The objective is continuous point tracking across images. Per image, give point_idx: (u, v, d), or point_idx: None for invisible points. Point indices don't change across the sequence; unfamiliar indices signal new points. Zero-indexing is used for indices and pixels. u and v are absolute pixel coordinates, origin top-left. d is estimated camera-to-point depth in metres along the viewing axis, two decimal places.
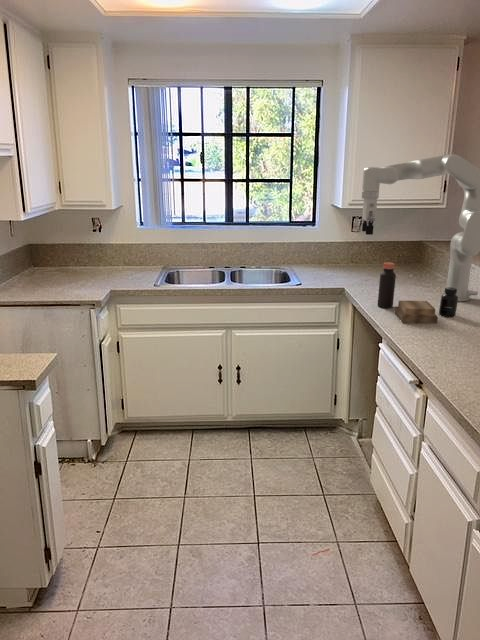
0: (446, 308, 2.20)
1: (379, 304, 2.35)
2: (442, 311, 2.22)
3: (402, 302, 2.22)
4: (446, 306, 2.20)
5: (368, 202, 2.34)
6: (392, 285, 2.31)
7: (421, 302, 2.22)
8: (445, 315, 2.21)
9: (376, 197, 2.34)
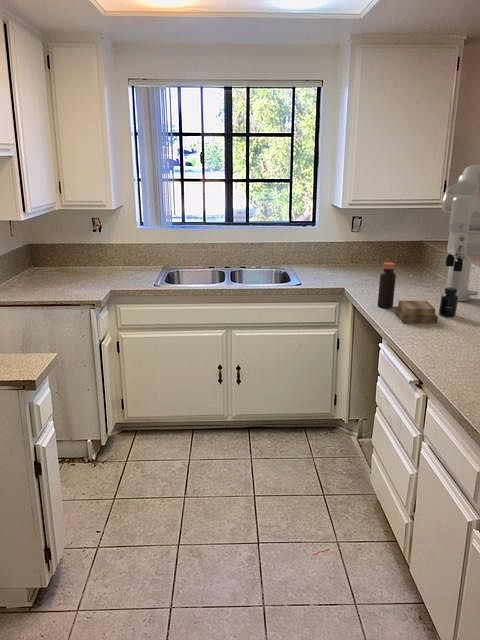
0: (446, 308, 2.20)
1: (379, 304, 2.35)
2: (442, 311, 2.22)
3: (402, 302, 2.22)
4: (446, 306, 2.20)
5: (458, 235, 2.09)
6: (392, 285, 2.31)
7: (421, 302, 2.22)
8: (445, 315, 2.21)
9: (467, 230, 2.10)
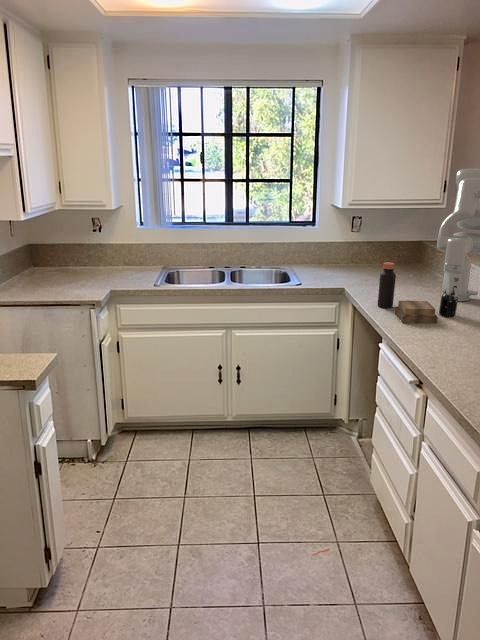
0: (446, 308, 2.20)
1: (379, 304, 2.35)
2: (442, 311, 2.22)
3: (402, 302, 2.22)
4: (446, 306, 2.20)
5: (452, 276, 2.15)
6: (392, 285, 2.31)
7: (421, 302, 2.22)
8: (445, 315, 2.21)
9: (461, 271, 2.15)
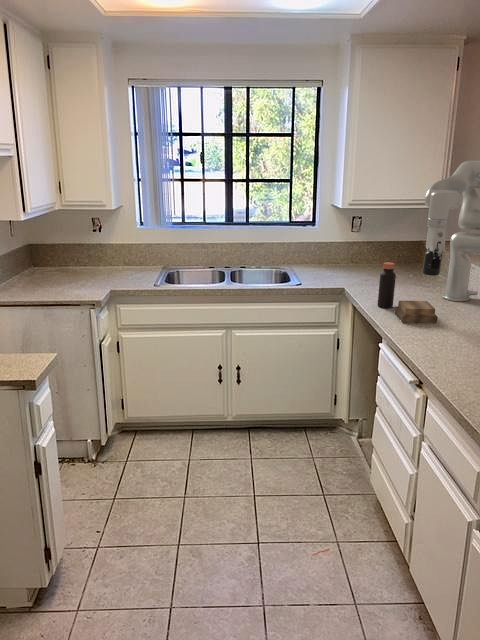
0: (430, 265, 2.11)
1: (379, 304, 2.35)
2: (425, 269, 2.13)
3: (402, 302, 2.22)
4: (430, 263, 2.11)
5: (436, 231, 2.06)
6: (392, 285, 2.31)
7: (421, 302, 2.22)
8: (429, 273, 2.13)
9: (445, 225, 2.07)
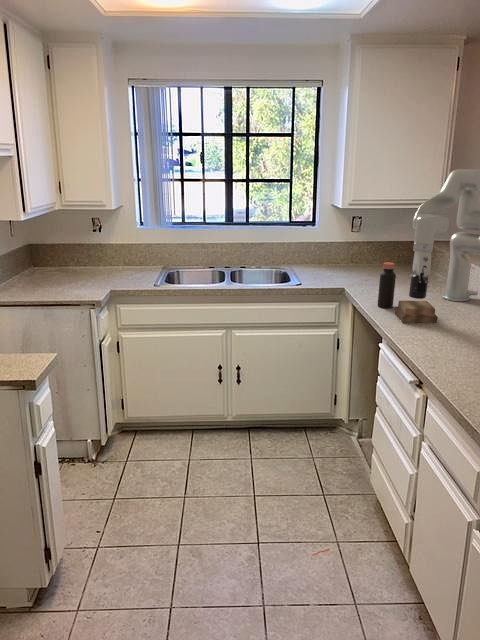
0: (416, 289, 2.13)
1: (379, 304, 2.35)
2: (412, 292, 2.15)
3: (402, 302, 2.22)
4: (416, 287, 2.13)
5: (422, 256, 2.08)
6: (392, 285, 2.31)
7: (421, 302, 2.22)
8: (415, 296, 2.14)
9: (430, 250, 2.08)
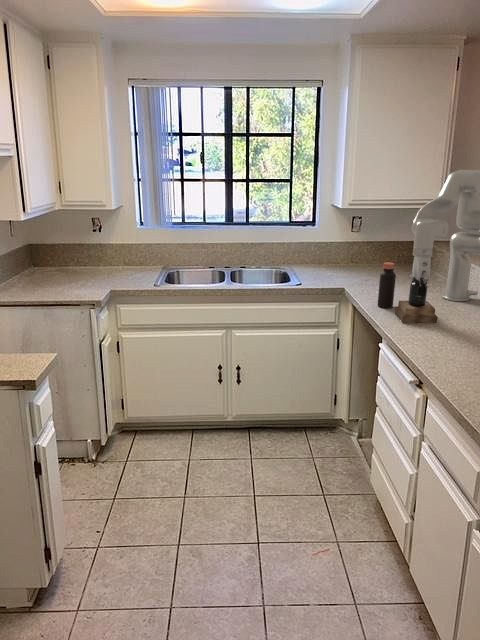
0: (415, 296, 2.15)
1: (379, 304, 2.35)
2: (411, 300, 2.16)
3: (402, 302, 2.22)
4: (415, 295, 2.14)
5: (421, 260, 2.08)
6: (392, 285, 2.31)
7: None
8: (414, 304, 2.16)
9: (430, 255, 2.09)
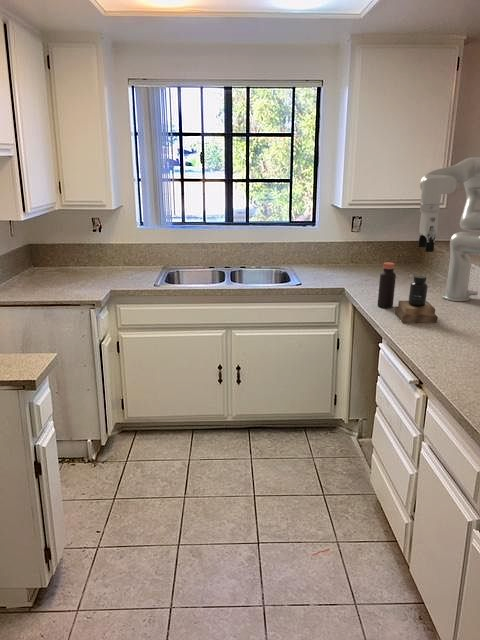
0: (415, 296, 2.15)
1: (379, 304, 2.35)
2: (411, 300, 2.16)
3: (402, 302, 2.22)
4: (415, 295, 2.14)
5: (429, 216, 2.09)
6: (392, 285, 2.31)
7: None
8: (414, 304, 2.16)
9: (437, 210, 2.10)
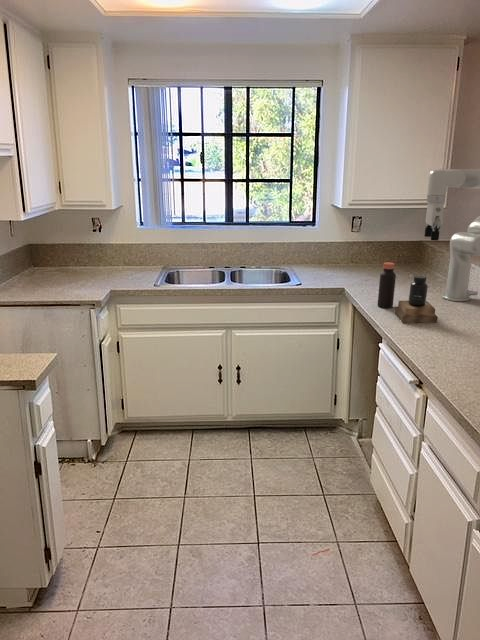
0: (415, 296, 2.15)
1: (379, 304, 2.35)
2: (411, 300, 2.16)
3: (402, 302, 2.22)
4: (415, 295, 2.14)
5: (435, 206, 2.24)
6: (392, 285, 2.31)
7: None
8: (414, 304, 2.16)
9: (443, 201, 2.24)
